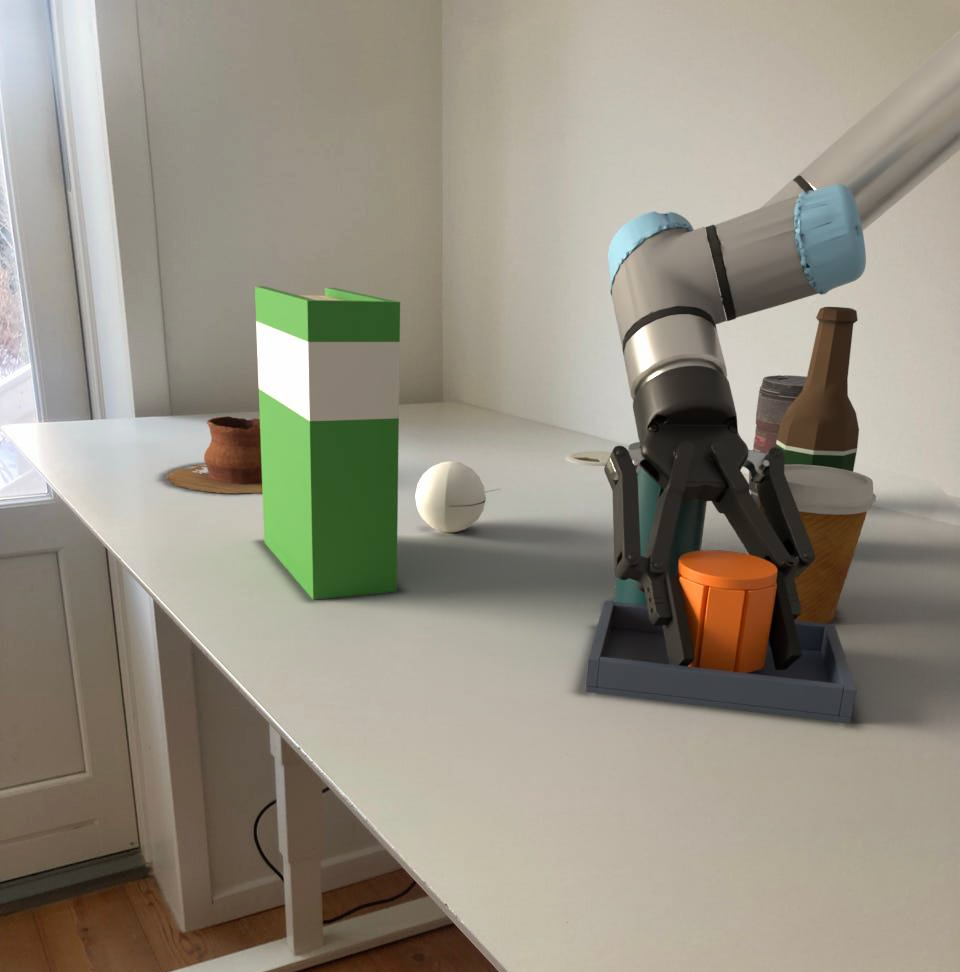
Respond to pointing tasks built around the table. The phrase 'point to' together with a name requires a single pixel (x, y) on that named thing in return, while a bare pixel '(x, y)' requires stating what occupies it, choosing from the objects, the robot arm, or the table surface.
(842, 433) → the beer bottle
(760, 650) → the cap
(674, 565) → the water bottle
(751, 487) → the travel mug
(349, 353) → the hardback book
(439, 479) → the white ball
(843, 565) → the disposable coffee cup
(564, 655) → the table surface
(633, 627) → the tray
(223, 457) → the ceramic pot
